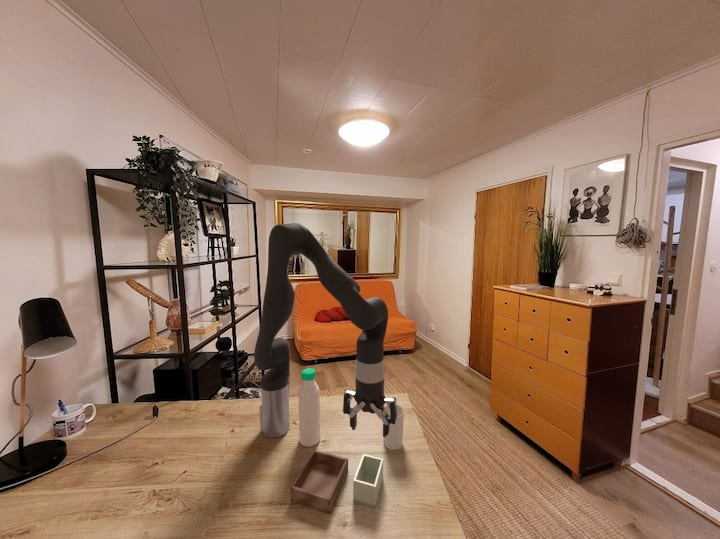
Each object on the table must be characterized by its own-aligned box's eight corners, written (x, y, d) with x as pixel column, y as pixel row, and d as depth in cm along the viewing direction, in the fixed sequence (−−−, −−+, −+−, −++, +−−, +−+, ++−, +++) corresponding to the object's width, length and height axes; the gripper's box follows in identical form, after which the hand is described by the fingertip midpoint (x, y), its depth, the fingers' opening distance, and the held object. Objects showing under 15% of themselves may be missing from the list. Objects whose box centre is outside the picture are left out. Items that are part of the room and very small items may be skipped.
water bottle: (324, 436, 94) (323, 368, 90) (312, 450, 87) (311, 378, 84) (307, 430, 96) (306, 364, 93) (295, 443, 90) (292, 373, 87)
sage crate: (353, 500, 71) (353, 480, 70) (363, 472, 79) (363, 453, 79) (375, 507, 69) (375, 486, 68) (383, 477, 78) (383, 459, 77)
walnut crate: (290, 501, 71) (290, 487, 70) (314, 461, 83) (313, 449, 83) (330, 514, 67) (329, 500, 67) (348, 470, 80) (348, 458, 79)
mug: (402, 452, 87) (403, 418, 85) (382, 449, 88) (382, 415, 86) (403, 430, 97) (403, 399, 95) (384, 427, 98) (384, 397, 96)
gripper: (339, 377, 69) (339, 435, 71) (394, 386, 64) (393, 448, 66) (349, 364, 76) (349, 417, 78) (399, 371, 71) (398, 427, 73)
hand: (369, 431), depth 72 cm, fingers open, 8 cm apart
